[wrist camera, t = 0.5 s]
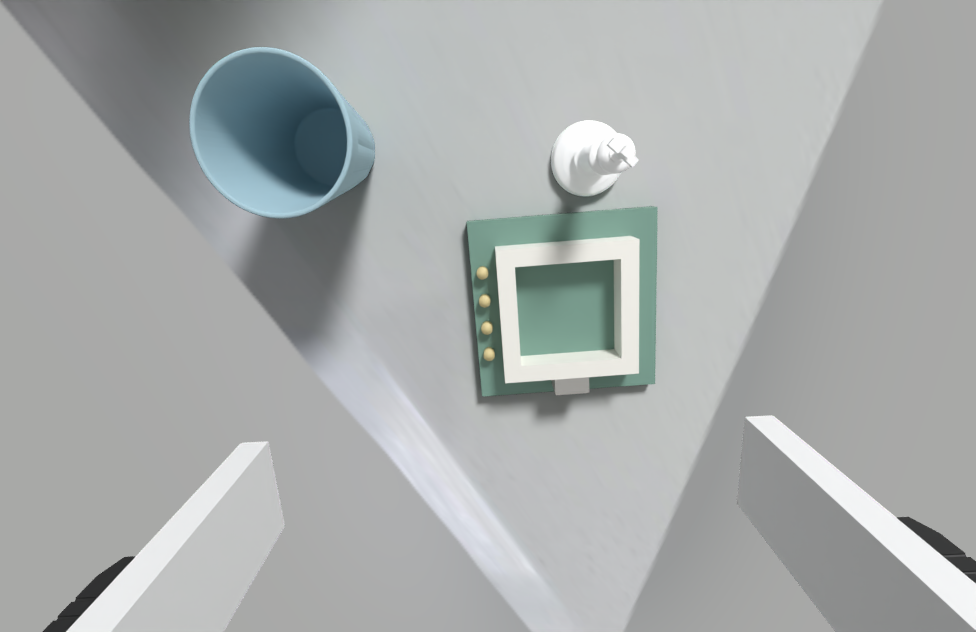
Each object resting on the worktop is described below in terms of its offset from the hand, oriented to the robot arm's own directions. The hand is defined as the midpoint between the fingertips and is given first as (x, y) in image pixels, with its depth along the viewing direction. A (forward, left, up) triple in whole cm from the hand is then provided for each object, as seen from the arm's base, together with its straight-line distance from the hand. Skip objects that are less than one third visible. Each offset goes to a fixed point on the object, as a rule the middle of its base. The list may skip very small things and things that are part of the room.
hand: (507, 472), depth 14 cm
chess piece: (-9, +7, -24) cm, 26 cm away
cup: (-11, -10, -24) cm, 28 cm away
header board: (+1, +5, -23) cm, 24 cm away
